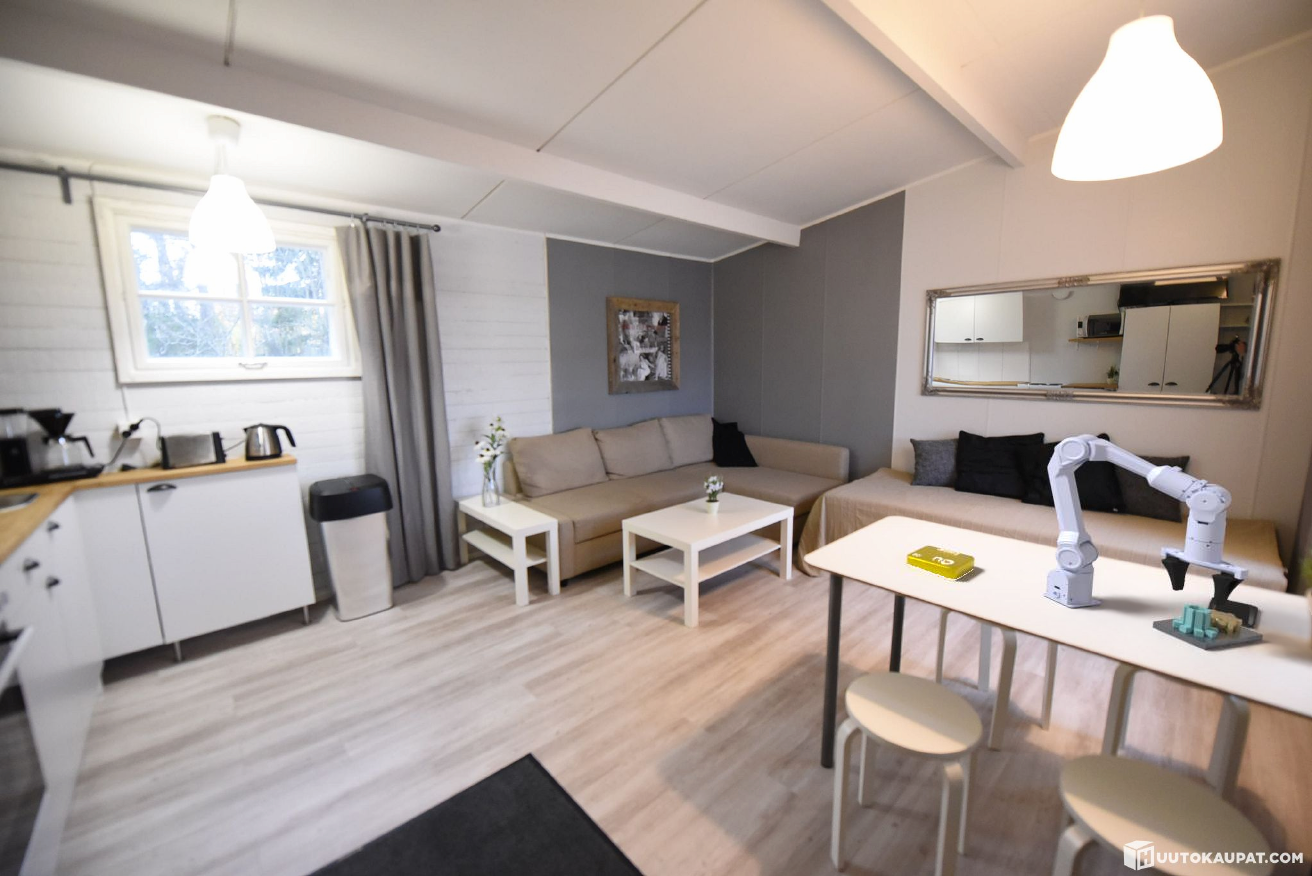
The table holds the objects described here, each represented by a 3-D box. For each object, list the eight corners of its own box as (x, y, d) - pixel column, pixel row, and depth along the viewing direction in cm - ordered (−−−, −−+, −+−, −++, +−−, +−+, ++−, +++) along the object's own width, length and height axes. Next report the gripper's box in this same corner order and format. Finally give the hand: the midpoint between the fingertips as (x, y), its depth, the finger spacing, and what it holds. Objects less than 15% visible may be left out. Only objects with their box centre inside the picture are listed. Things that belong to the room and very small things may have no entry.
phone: (1258, 606, 125) (1254, 626, 116) (1257, 610, 126) (1253, 630, 117) (1211, 596, 132) (1204, 614, 123) (1211, 600, 132) (1203, 618, 123)
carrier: (1205, 650, 109) (1207, 627, 108) (1152, 627, 119) (1154, 606, 118) (1262, 641, 112) (1265, 618, 111) (1206, 619, 121) (1208, 598, 121)
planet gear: (1201, 639, 110) (1204, 617, 110) (1164, 624, 117) (1166, 603, 117) (1226, 635, 112) (1229, 613, 111) (1188, 620, 118) (1190, 599, 118)
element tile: (976, 570, 156) (977, 555, 155) (954, 583, 147) (955, 567, 146) (926, 556, 168) (927, 543, 167) (903, 568, 159) (904, 553, 158)
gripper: (1262, 548, 105) (1254, 609, 107) (1179, 527, 119) (1174, 582, 121) (1236, 551, 104) (1228, 613, 106) (1155, 530, 118) (1150, 585, 120)
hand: (1197, 596), depth 113 cm, fingers open, 7 cm apart
